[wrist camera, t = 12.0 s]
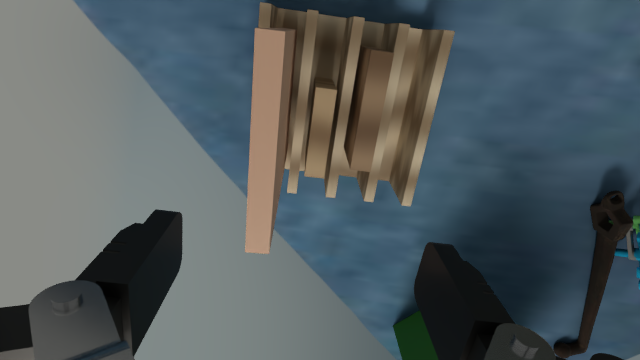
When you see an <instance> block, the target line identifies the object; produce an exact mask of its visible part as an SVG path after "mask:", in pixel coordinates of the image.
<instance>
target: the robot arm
mask: <svg viewBox="0 0 640 360" xmlns="http://www.w3.org/2000/svg"><path fill="white" fill-rule="evenodd" d="M181 260H182V214H181V213H180V212H173V211H165V210H155V211H154V212H153V213H152V214H151V215H150V216H149V218H148V219H147V220H146V221H145V222H144V224H140V223H134V224H132V225H131V226H129V227H127V228H125V229H123V230H121V231H120V232H119V233H118V234H117V235H116V236H115V237H114V238H113V239H112V241H111V243H109V244H108V245H107V246H106V247H105V248H104V249H103V252H100V253H99V255H98V256H97V257H96V258H95V259H94V260H93V261H92V262H91V263H90V264H89V266H88V267H87V268H86V269H85V270H84V271H83V272H82V273H81V274H80V275H79V276H78V278H77V279H76V280H74V281H68V282H63V283H59V284H56V285H54V286H51V287H49V288H47V289H45V290H43V291H42V292H41V293H39V294H38V295H37V296H36V297H35V298H34V299H33V300H32V302H31V303H30V304H27V305H20V306H12V307H3V308H0V360H135V359H134V355H135V353H136V351H137V349H138V348H139V346H140V344H141V342H142V340H143V338H144V336H145V334H146V332H147V331H148V329H149V327H150V325H151V323H152V321H153V319H154V317H155V315H156V314H157V312H158V310H159V308H160V306H161V304H162V302H163V300H164V299H165V297H166V295H167V293H168V291H169V289H170V287H171V285H172V283H173V281H174V280H175V278H176V276H177V274H178V272H179V269H180V265H181ZM493 293H494V292H493V291H492V289H491V288H490V286H489V285H487V282H486V281H485V279H484V278H483V276H482V275H481V273H480V272H479V271H478V270H477V269H476V268H474V267H473V266H472V265H471V264H469V263H468V262H467V261H463V260H462V259H461V257H460V256H459V254H458V252H457V251H456V249H455V248H454V246H453V245H450V244H442V243H433V242H429V243H427V245H426V247H425V249H424V253H423V256H422V259H421V263H420V266H419V269H418V272H417V276H416V279H415V284H414V294H415V299H416V302H417V305H418V307H419V310H420V312H421V315H422V318H423V320H424V323H425V326H426V328H427V331H428V333H429V336H430V339H431V341H432V344H433V346H434V349H435V352H436V354H437V357H438V359H439V360H566V359H563V358H560V357H557V356H555V353H554V351H553V349H552V348H551V346H550V345H549V344H548V343H547V342H546V341H545V340H544V339H543V338H542V337H541V336H539V335H538V334H536V333H535V332H533V331H532V330H530V329H528V328H525V327H523V326H520V325H517V324H515V323H514V321H513V320H512V319H511V317H510V316H509V314H508V313H507V311H506V310H505V308H504V307H503V305H502V304H501V302H500V301H499V300H498V298H497V297H496V295H494V294H493ZM590 360H623V359H621V358H618V357H616V356H613V355H610V354H604V353H598V354H594V355H593V356H592V357H591V359H590Z"/></svg>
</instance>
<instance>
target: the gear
mask: <svg viewBox="0 0 640 360" xmlns="http://www.w3.org/2000/svg"><path fill="white" fill-rule="evenodd" d="M632 220H633V223H634V224H633V226H632V227H631V228H630V230H629V231H628V233H627V234H626V237H627V247H628V250H626V249H616V251H615V255H614V256H622V257H629V260H638V261H639V268H638V267H637V278H640V216H633V219H632ZM609 222H610V223H611V224H613V222H612V221H609ZM635 228H636V234H637V242H638V246H639V248H634V242H633V232H632V231H634V229H635ZM639 289H640V280H639Z"/></svg>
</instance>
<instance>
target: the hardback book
mask: <svg viewBox="0 0 640 360" xmlns="http://www.w3.org/2000/svg"><path fill="white" fill-rule="evenodd" d="M393 328H394V331H395V335H396V339H397V342H398V346H399V349H400V353H401V356H402V360H439V359H438V357H437V354H436V352H435V349H434V346H433V344H432V341H431V339H430V336H429V333H428V331H427V328H426V326H425V323H424V320H423V318H422V315H421V312H420V310H419V311H417V312H416V313H414V314H412V315H411V316H409V317H407V318H405V319H404V320H402V321H400V322H399V323H397V324H395V325H393Z"/></svg>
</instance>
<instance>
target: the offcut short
mask: <svg viewBox="0 0 640 360" xmlns="http://www.w3.org/2000/svg"><path fill="white" fill-rule="evenodd" d="M336 94H337V89H336V86H335V84H334V82H333V80H332V79H327V78H320V77H315V79H314V87H313V95H312V103H311V111H310V119H309V127H308V135H307V143H306V151H305V176H307V177H316V178H324V174H325V168H326V161H327V154H328V148H329V141H330V134H331V128H332V121H333V114H334V108H335V101H336Z"/></svg>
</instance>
